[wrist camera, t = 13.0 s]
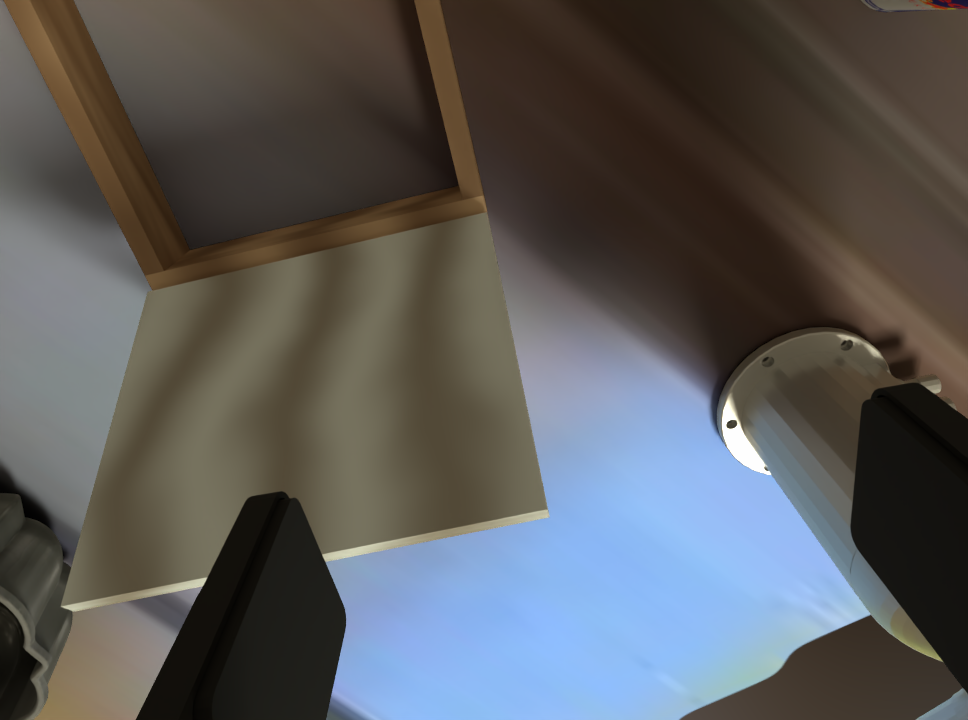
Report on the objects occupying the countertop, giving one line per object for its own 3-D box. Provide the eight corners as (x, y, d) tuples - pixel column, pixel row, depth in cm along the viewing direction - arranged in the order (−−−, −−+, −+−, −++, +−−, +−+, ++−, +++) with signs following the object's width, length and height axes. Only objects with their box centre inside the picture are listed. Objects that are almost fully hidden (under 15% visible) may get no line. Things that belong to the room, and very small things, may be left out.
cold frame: (408, -141, 31) (338, -390, 13) (510, 312, 43) (550, 523, 24) (32, -36, 33) (-519, -123, 14) (230, 374, 44) (69, 618, 26)
